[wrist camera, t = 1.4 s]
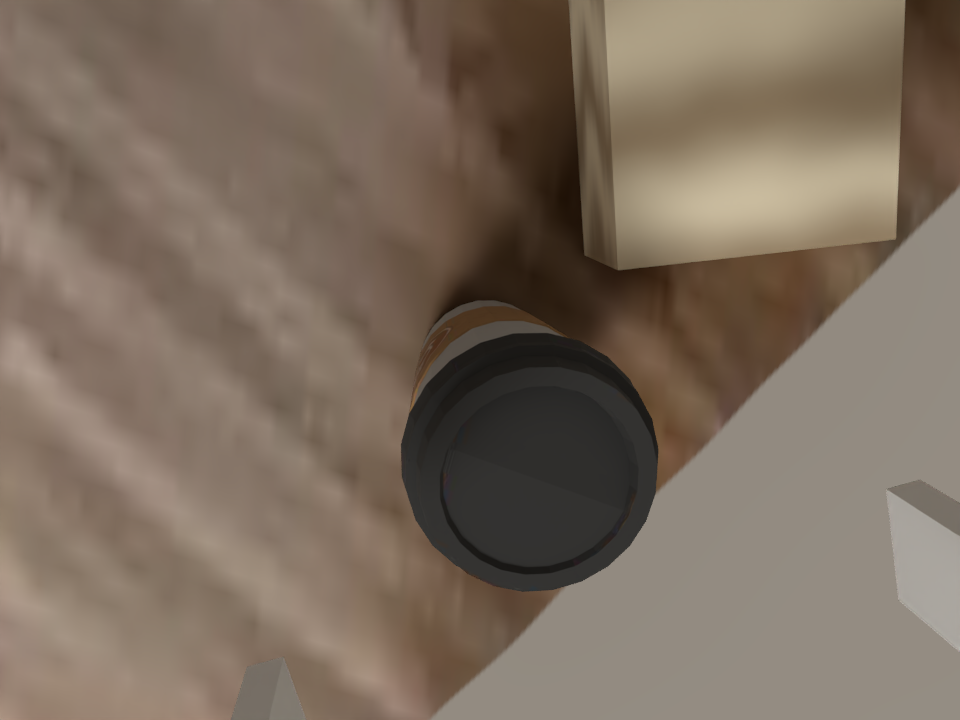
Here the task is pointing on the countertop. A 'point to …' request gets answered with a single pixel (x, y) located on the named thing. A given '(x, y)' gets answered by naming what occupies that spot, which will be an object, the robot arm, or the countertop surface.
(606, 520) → the coffee cup
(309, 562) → the countertop surface
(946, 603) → the robot arm
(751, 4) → the maple block
